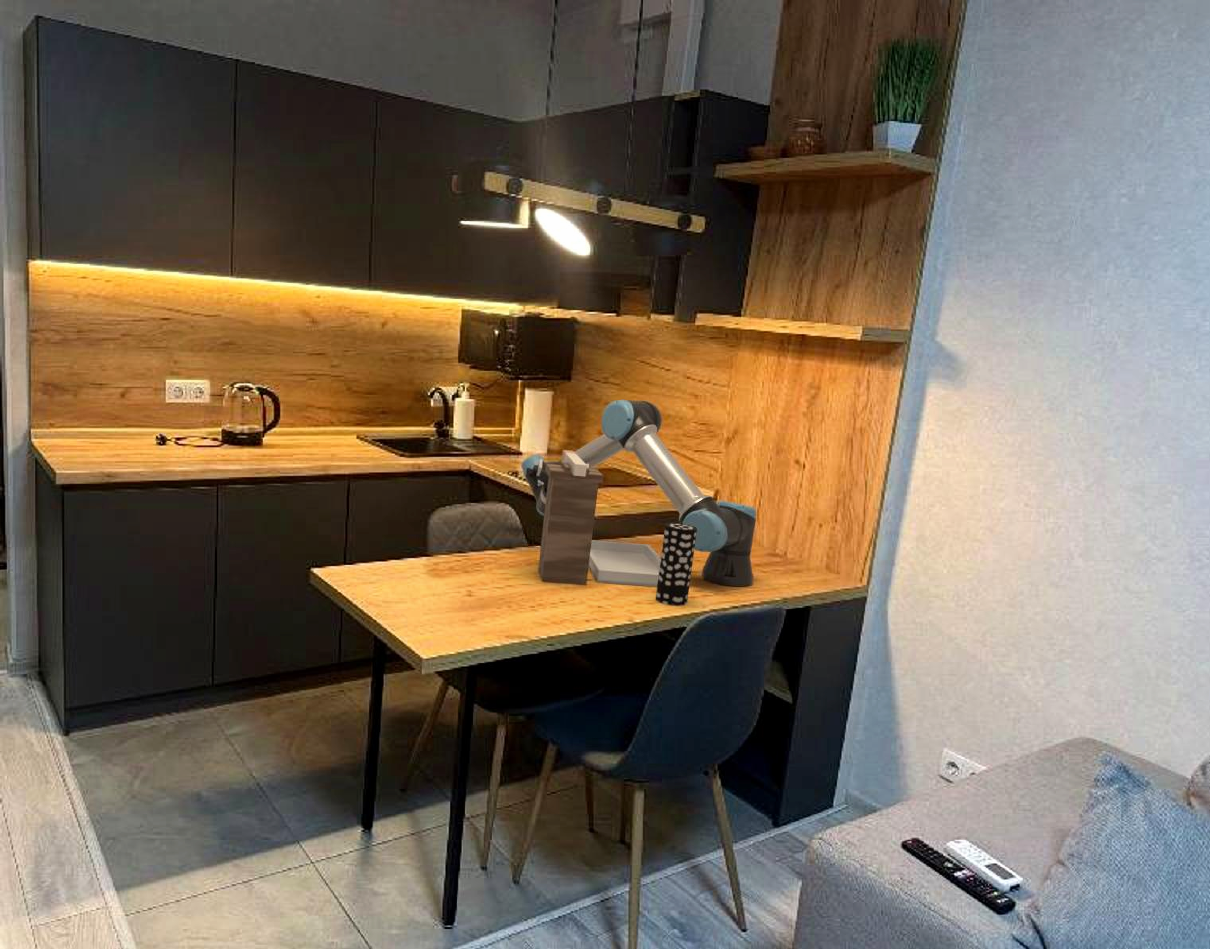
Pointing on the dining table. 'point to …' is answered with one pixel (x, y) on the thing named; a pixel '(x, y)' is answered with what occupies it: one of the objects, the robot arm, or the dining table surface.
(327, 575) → the dining table surface
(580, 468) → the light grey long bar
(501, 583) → the dining table surface
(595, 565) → the tray
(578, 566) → the stand
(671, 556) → the spotted tube
